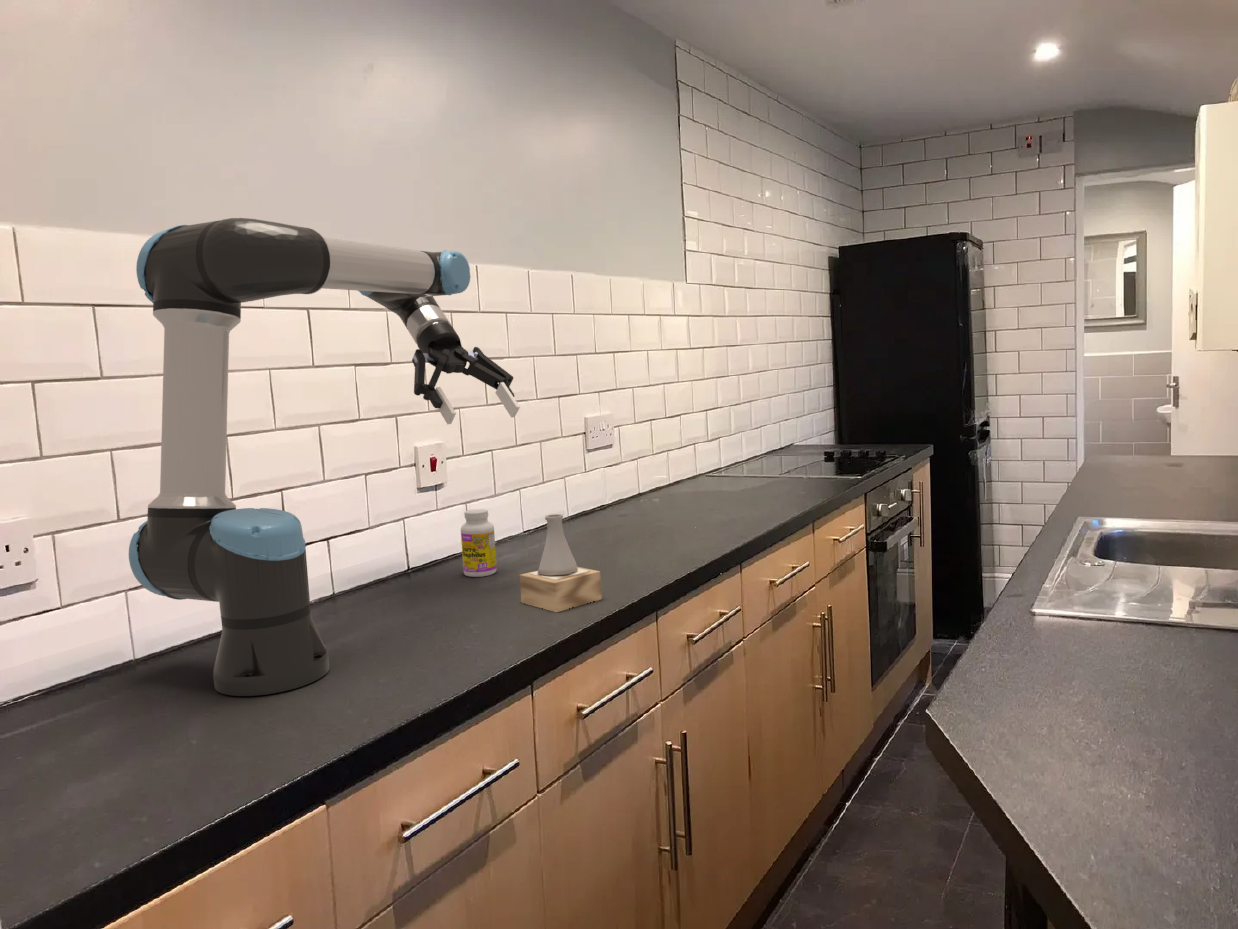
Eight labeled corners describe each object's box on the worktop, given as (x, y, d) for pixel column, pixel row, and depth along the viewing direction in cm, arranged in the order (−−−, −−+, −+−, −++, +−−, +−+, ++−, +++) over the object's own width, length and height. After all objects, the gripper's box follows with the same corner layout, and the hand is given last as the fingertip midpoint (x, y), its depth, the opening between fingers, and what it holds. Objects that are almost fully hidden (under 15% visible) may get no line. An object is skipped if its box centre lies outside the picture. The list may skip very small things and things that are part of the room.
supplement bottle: (458, 577, 181) (452, 513, 180) (472, 569, 188) (468, 508, 186) (488, 578, 179) (483, 513, 178) (502, 570, 186) (498, 507, 184)
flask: (570, 577, 154) (566, 519, 153) (530, 576, 156) (526, 519, 155) (584, 567, 161) (580, 511, 160) (546, 566, 163) (542, 511, 162)
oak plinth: (556, 612, 152) (554, 582, 152) (521, 602, 160) (519, 573, 159) (601, 599, 159) (600, 570, 158) (565, 590, 166) (564, 562, 166)
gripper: (483, 347, 183) (532, 423, 173) (368, 352, 166) (416, 436, 157) (496, 319, 178) (548, 395, 169) (379, 321, 162) (429, 406, 152)
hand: (484, 415), depth 163 cm, fingers open, 13 cm apart
